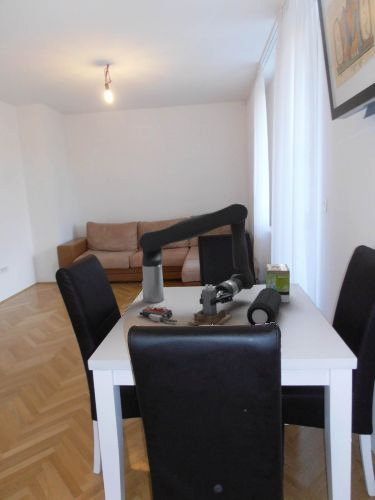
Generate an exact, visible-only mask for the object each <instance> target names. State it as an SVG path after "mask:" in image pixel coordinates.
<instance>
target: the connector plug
mask: <svg viewBox="0 0 375 500" xmlns="http://www.w3.org/2000/svg"><path fill="white" fill-rule="evenodd" d="M204 287H205V288H204V289H201V293H202V301H203V304H201V305H202V309H203V314H204V315H210V316H214V315H215V314H217V313H218V307H217V303H216V304H215V305H213V306H210V300H212V299H213V298H216V289H214V288H215V287H214V288H213V284H205V285H204Z"/></svg>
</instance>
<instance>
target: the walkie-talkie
mask: <svg viewBox="0 0 375 500" xmlns="http://www.w3.org/2000/svg"><path fill="white" fill-rule="evenodd" d="M139 315H140V316H142V317H144V318H149V319H150V320H151V321H153V322H158V323H160V322H169V323H178V320H177V319H172V318H171V317H172V316H173V311H172V309H167V307H166V306H162V305H157V306H154V305H150V306H146V307H144V308H142V310H141V311H140V312H139Z"/></svg>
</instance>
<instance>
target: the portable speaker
mask: <svg viewBox="0 0 375 500" xmlns="http://www.w3.org/2000/svg"><path fill="white" fill-rule="evenodd" d="M282 303H283V302H282V298H281V295H280V293H279V292H278V291H277V290H275V289H273V288H266V287H264V288H262V289H261V290H260V291H259V293H258V294H257V295H256V296H255V298H254V300H253V301H252V303H251V304H250V306H249V307H248V308H247V311H246V317H247V320H248V322H249V324H250V326H252V325H255V324H265V323H270V322H273V323H275V320H276V316H277V314H278V312H279V310H280V307H281V305H282Z"/></svg>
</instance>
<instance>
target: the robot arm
mask: <svg viewBox="0 0 375 500" xmlns="http://www.w3.org/2000/svg"><path fill="white" fill-rule="evenodd" d="M248 215H249V210H248V207H247V206H246V205H245V204H243V203H241V202H234V203H232V204H230V205H228V206H226V207H223V208H220V209H218V210H216V211H213V212H207V213H203V214H198V215H195V216H191V217H188V218H186V219H183V220H180V221H178V222H176V223H173V224H172V225H170V226H168V227H165V228H163V229H158V230H147V231H146V232H143V233H142V235H141V236H140V238H139V240H138V243H139V244H138V245H139V247H140V248H141V250H142V260H141V264H142V279H143V280H142V281H141V287H142V288H141V289H142V300H143V301H145V302H146V303H152V304H153V303H161V302H163V301H164V299H165V295H164V294H165V293H164V291H165V290H164V280H163V279H164V278H163V264H162V263H163V261H162V260H163V252H162V251H163V250H162V248H163V247H165V246H168V245H171V244H174V243H178V242H179V243H180V242H183V241H187V240H190V239H195V238H197V237H200V236H202V235H206V234H207V233H211V232H212V231H215V230H217V229H218V228H221V227H225V226H230V230H231V231H230V232H231V247H232V248H231V250H232V266H233V268H234V269H236V270H239V271H241V272H242V273H236V274H235V273H234V274H232V275H231V276H230V277H229V279H228V280H225V281H223V282H221V283H219V284H218V285H216V286H215V287H214V289H216V298H213V299H212V300H210V306H213V305H215V304H216V303H217V304H221V305H222V304H226V303H230V302H233V301H234V297H235V296H236V295H238V294H239V293H241V292H242V290H251V289H252V288H253V287H254V285H255V279H254V275H253V273H252V270H251V267H250V263H249V253H248V245H247V239H246V220H247V218H248ZM198 300H199V305H202V304H203V301H202V292H201V294H200V298H199V299H198Z"/></svg>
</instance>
